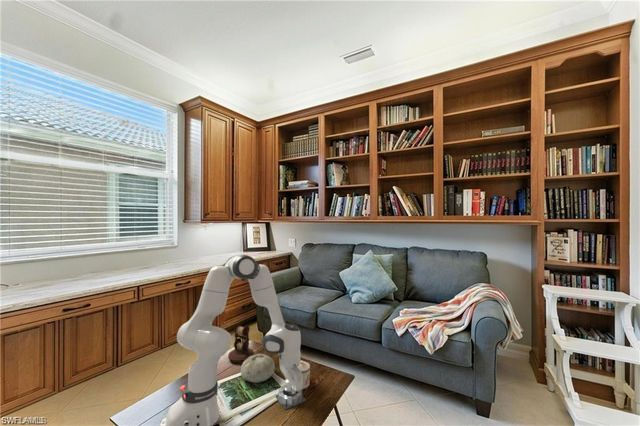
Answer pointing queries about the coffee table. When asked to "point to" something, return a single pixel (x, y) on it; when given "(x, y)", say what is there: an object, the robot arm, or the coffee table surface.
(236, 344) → the carved wooden figurine
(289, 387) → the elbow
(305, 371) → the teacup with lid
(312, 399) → the coffee table surface
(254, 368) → the decorative shell
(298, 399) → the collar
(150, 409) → the coffee table surface
